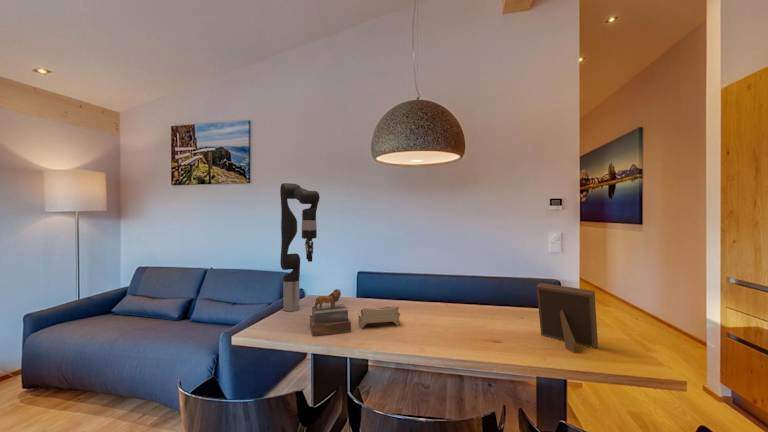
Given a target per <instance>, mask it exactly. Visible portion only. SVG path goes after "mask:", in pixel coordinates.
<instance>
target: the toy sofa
mask: <svg viewBox="0 0 768 432" xmlns="http://www.w3.org/2000/svg"><path fill="white" fill-rule="evenodd" d="M357 316H358V326H359V327H360V329H362V330H363V329H364V327H365V326H366V325H367V324H375V323H387V322H393V323H394V324H395V325H396V326H397V327H399V326H400V316H401V313H400V312H399V306H391V307H390V306H389V307H379V308H364V307H363V308H362V309H361V310H358V311H357Z"/></svg>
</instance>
